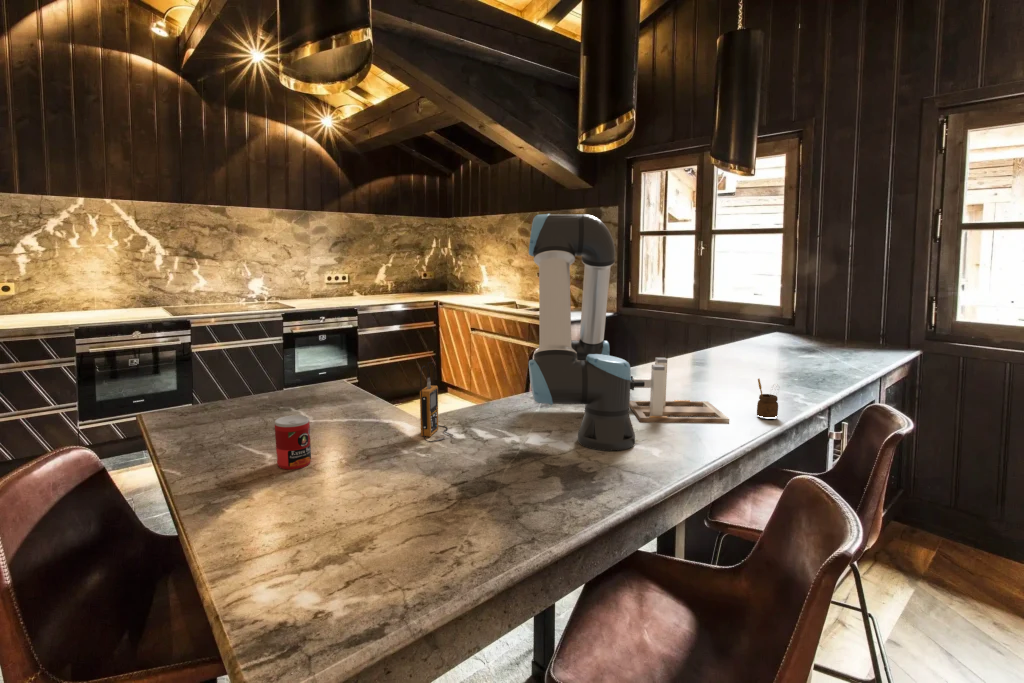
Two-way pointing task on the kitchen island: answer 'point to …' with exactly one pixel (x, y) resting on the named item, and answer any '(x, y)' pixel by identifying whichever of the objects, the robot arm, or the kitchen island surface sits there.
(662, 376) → the white rectangular block
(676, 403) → the wooden compartment tray
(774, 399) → the utensil holder
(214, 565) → the kitchen island surface
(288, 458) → the canned food
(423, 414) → the multimeter
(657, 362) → the tall white block
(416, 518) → the kitchen island surface
